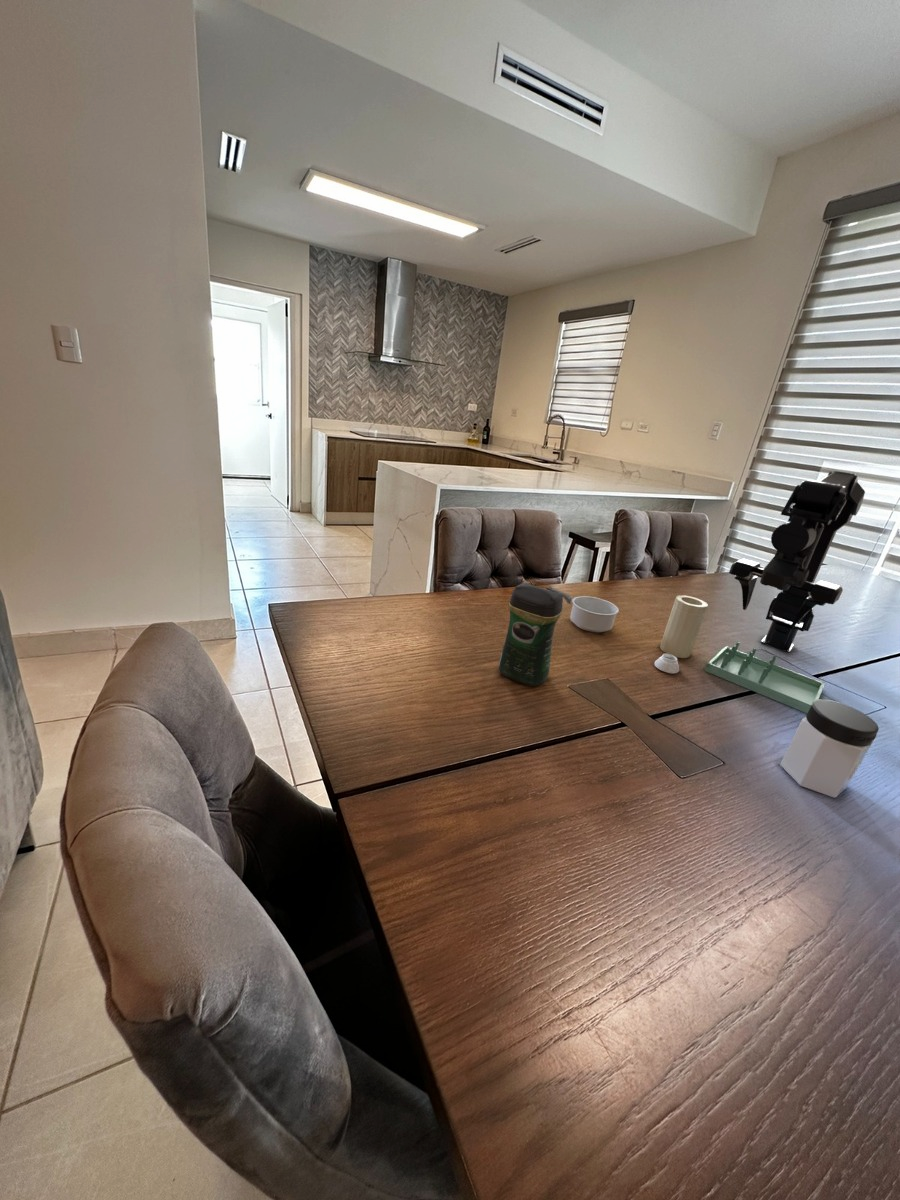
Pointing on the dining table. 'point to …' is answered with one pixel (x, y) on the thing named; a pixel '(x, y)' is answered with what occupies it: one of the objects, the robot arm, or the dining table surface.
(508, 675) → the coffee jar
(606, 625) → the saucepan
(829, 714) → the jar
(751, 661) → the dish rack
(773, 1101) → the dining table surface
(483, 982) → the dining table surface
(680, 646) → the beige cylindrical vase
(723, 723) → the dining table surface
